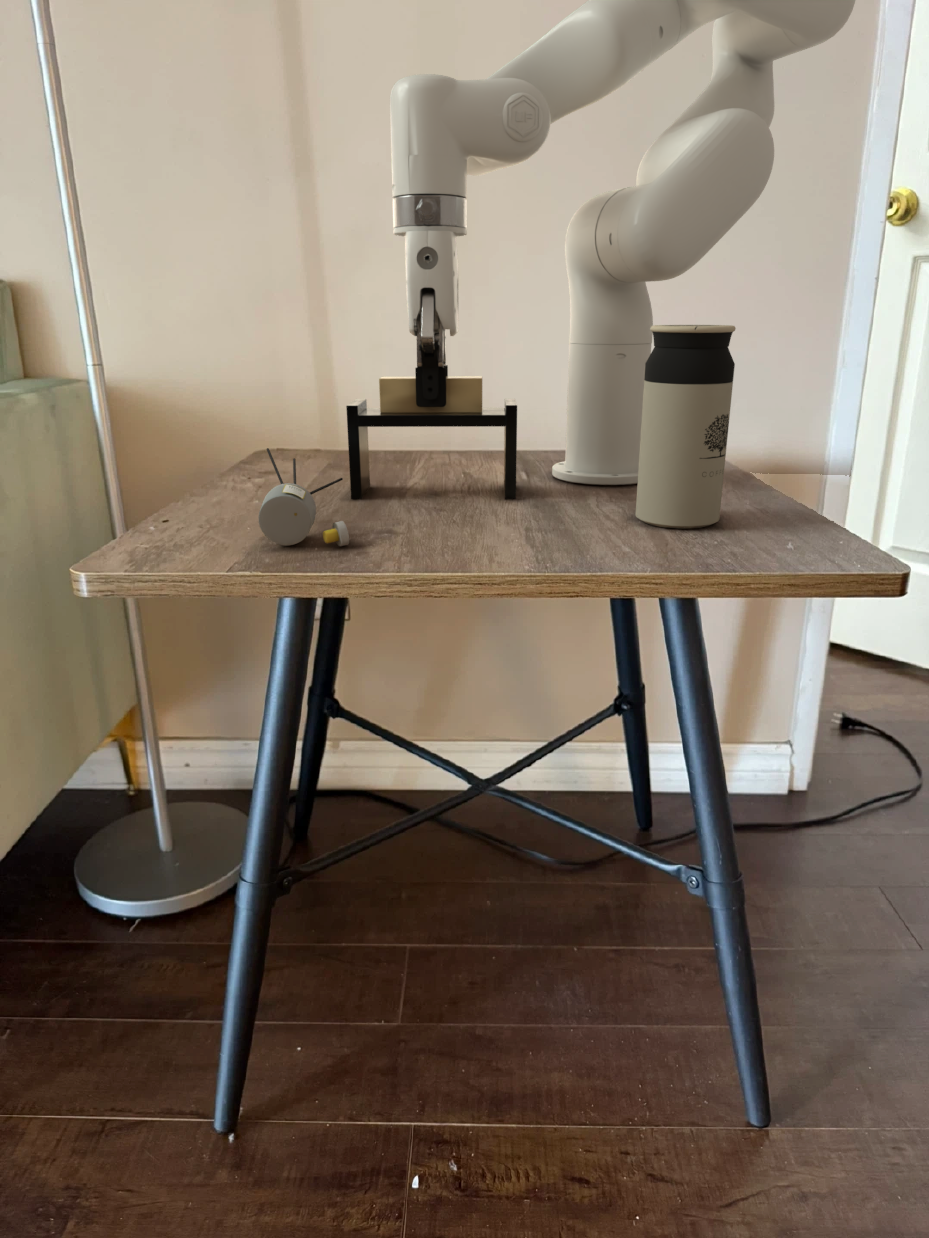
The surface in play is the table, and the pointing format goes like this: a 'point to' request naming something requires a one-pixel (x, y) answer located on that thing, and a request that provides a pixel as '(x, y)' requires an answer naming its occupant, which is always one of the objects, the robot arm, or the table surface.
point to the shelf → (371, 417)
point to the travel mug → (685, 425)
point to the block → (459, 399)
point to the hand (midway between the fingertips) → (432, 403)
